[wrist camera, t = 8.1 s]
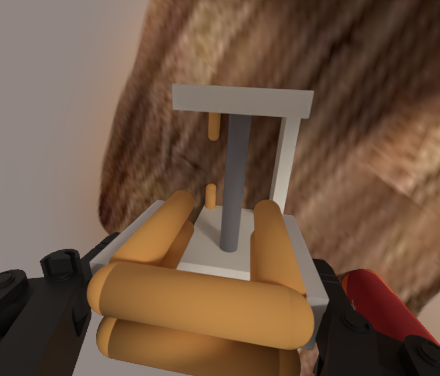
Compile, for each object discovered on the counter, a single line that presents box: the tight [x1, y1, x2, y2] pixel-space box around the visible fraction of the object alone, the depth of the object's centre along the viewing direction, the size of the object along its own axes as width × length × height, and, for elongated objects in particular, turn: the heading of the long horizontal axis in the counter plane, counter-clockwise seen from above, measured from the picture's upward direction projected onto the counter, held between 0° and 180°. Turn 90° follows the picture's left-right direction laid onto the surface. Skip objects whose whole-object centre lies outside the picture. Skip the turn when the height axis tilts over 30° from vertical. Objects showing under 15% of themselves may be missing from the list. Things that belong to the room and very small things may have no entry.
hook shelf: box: [172, 84, 314, 281], centre depth 24 cm, size 18×12×14 cm, turn 176°
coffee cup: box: [341, 269, 440, 346], centre depth 28 cm, size 8×8×15 cm
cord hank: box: [87, 190, 314, 376], centre depth 11 cm, size 8×4×9 cm, turn 86°
